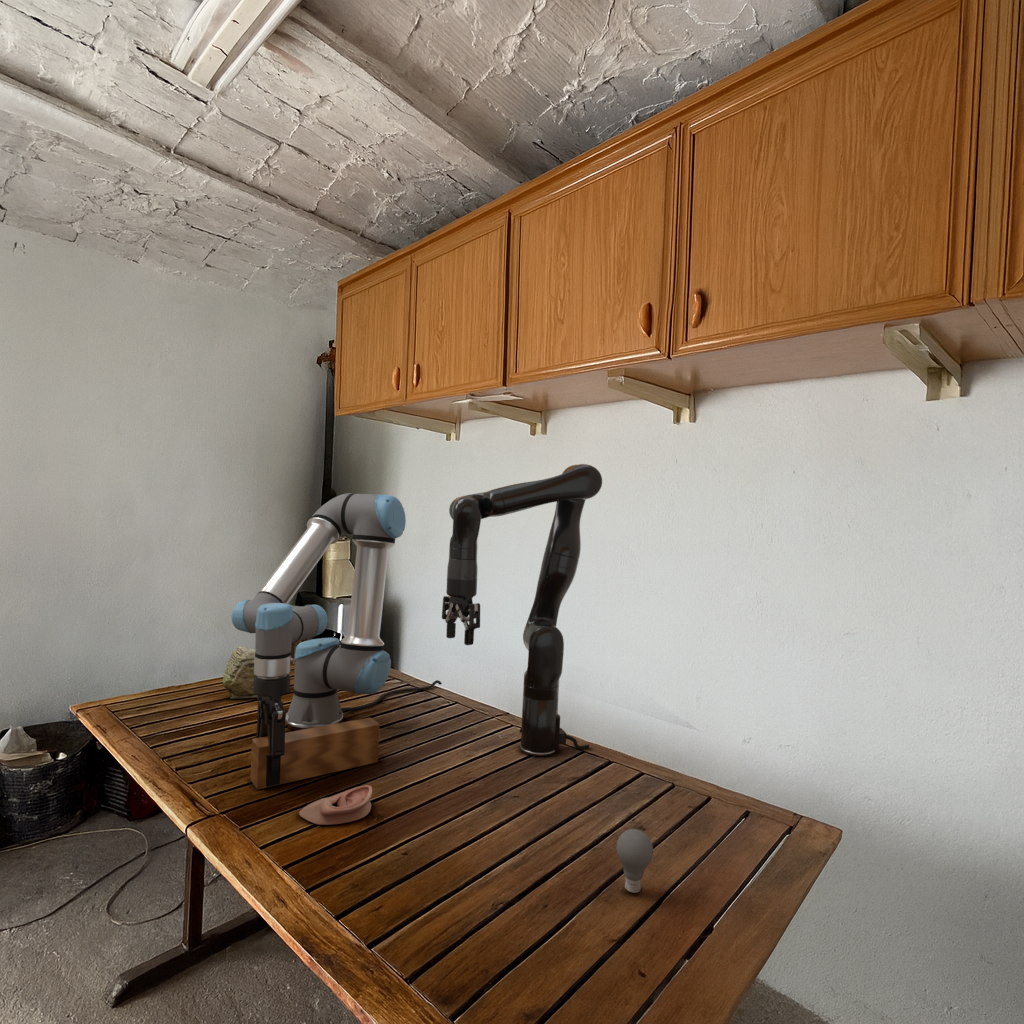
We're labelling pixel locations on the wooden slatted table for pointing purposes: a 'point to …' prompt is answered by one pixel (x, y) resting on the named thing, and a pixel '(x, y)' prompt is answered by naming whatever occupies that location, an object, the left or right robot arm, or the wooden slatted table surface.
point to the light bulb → (634, 857)
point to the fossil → (240, 673)
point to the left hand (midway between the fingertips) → (268, 779)
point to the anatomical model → (339, 807)
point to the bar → (319, 751)
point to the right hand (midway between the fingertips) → (459, 641)
